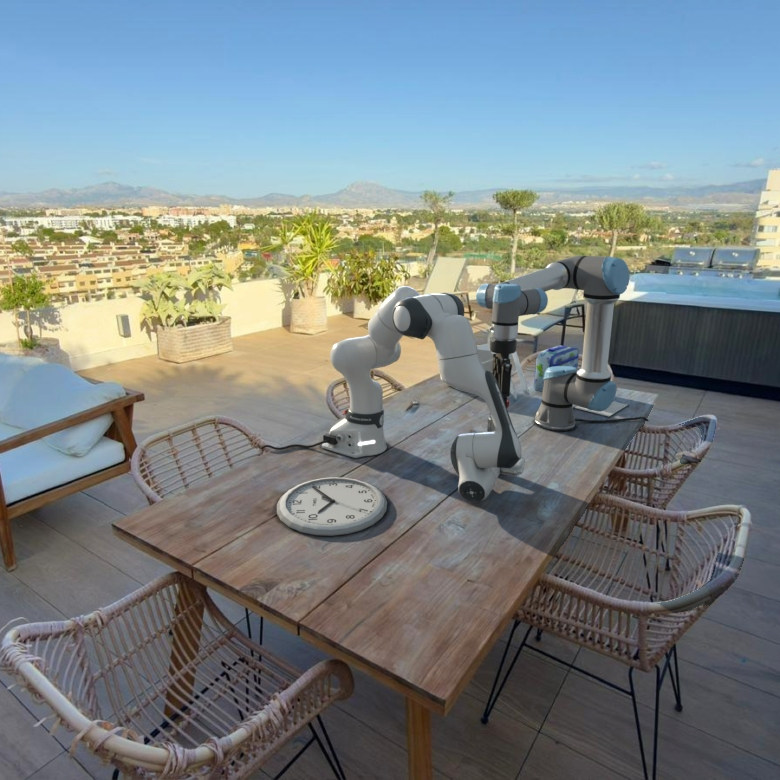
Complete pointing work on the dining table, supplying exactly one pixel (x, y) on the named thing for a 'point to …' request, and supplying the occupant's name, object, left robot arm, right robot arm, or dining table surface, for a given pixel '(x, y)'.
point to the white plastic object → (487, 362)
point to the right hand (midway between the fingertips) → (498, 412)
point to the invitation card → (609, 411)
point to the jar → (490, 424)
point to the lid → (507, 403)
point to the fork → (413, 403)
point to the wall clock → (331, 506)
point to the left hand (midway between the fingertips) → (494, 450)
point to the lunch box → (554, 362)
